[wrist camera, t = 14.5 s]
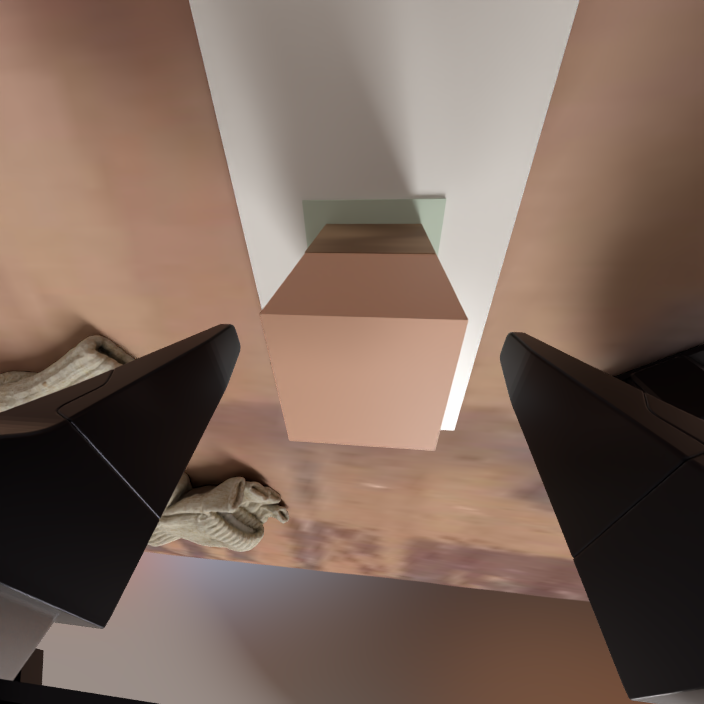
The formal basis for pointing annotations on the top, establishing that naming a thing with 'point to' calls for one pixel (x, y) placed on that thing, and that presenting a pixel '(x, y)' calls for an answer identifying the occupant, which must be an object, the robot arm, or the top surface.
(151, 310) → the top surface
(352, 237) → the walnut block
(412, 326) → the terracotta block
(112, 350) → the pair of gloves
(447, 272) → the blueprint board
